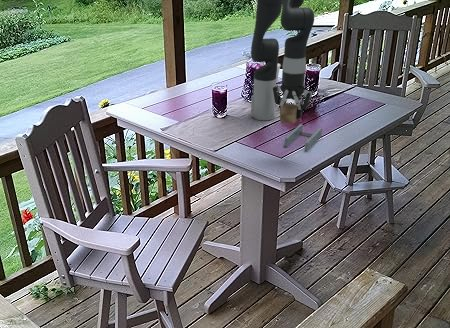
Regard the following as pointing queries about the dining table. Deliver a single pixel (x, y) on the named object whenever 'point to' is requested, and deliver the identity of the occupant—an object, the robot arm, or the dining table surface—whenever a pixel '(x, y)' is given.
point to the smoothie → (277, 71)
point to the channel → (298, 131)
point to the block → (288, 113)
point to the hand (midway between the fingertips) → (290, 117)
